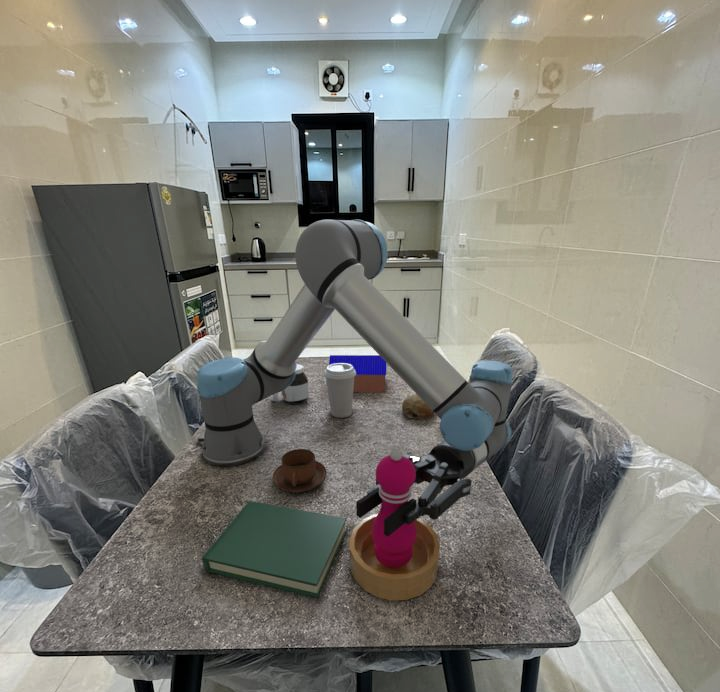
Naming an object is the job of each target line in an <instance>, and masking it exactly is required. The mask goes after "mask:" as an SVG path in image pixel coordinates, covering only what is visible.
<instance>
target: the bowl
mask: <svg viewBox="0 0 720 692" xmlns="http://www.w3.org/2000/svg"><path fill="white" fill-rule="evenodd" d="M377 515H378V513H375V514H371V515H369V516H367V517H366V518H364V519H362V520H361V521H359V522H358V523H357V525H356V526H355V527H354V528H353V529H352V532H351V534H350V536H349V563H350V564H349V565H350V566H349V567H350V568H349V569H350V572H351V574H352V576H353V579H354V581H355V582H356V583H357V584H358V585H359V586H360V587H361V588H362V589H363V591H365V592H367V593H369V594H370V595H372V596H374V597H376V598H380V599H384V600H388V601H392V602H393V601H408V600H410V599H413V598H416V597H419V596H422V595H423V594H424V593H425V592H427V591H428V590H429V589H430V588H432V586H433V585H434V582H435V581H436V580H437V577H438V572H439V571H438V570H439V562H440V550H441V544H440V540H439V537H438V534H437V532H436V531H435V530H434V529H433V528H432V526H430V524H429V523H427V522H426V521H424V520H423V519H421V517H419V518H418V519H416V520H415V521H414V523H415V527H416V540H415V543H414V544H413V546H412V557H411V559H410V561H409V562H408V563H407V564H406V565H403V566H401V567H388V566H385V565H383V564H382V563H380V562H379V561H378V560H377V558H376V556H375V552H374V548H375V543H374V541H373V539H372V525H373V523H374V520H375V518H376V516H377Z"/></svg>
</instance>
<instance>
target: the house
mask: <svg viewBox="0 0 720 692" xmlns="http://www.w3.org/2000/svg"><path fill="white" fill-rule="evenodd" d="M335 363H347V364H351V365H352V366H353V368H354V369H355V371H356V375H355V376H354V390H353V393H386V376H387V363H386V362H385V360H384V359H383V358H382V357H381V356H380V355H379V354H377V355H375V354H374V355H369V354H367V355H366V354H365V355H363V354H362V355H360V354H359V355H358V354H355V355H353V354H349V355H348V354H330V355H329V362H328V365H331V364H335Z"/></svg>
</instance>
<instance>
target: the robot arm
mask: <svg viewBox="0 0 720 692" xmlns="http://www.w3.org/2000/svg"><path fill="white" fill-rule="evenodd" d="M294 253H295V254H294V255H295V256H294V259H295V264H296V269H297V271H298V273H299V276H300V278H301V280H302V281H303V283H304V284H303V285H302V287H301V289H300V290H299V292H298V294H297V295H296V296H295V298H294V299H293V301H292V302H291V304H290V306H289V307H288V308H287V310H286V311H285V313H284V315H283V316H282V318H281V319H280V321H278V324H277V325H276V326H275V328H274V330H273V331H272V333H271V334H270V335H269V337H268V339H264V340H261V341H260V342H259V343H257V344H256V346H255V347H254V349H253V350H252V352H251V354H250V355H249V356H248V357H246V358H243V359H242V358H240V357H235V356H234V357H233V356H231V357H223V358H222V359H220V358H218V359H215V360H212V361H209V362H208V363H206V364H204V365H203V366H201V367H200V368H199V369H198V371H197V373H196V379H195V380H196V392H197V394H198V396H199V402H200V406H201V411H202V416H203V421H204V422H203V423H204V426H205V427H204V428H205V431H204V437H202V438H199V437H198V438H197V442H202V448H201V449H202V450H201V451H202V456H203V459H204V461H205V462H207V463H208V464H210V465H213V466H219V467H233V466H238V465H242V464H245V463H248V462H250V461H252V460H254V459H257V458H258V457H259V456H260V455H261V454H262V453H263V452H264V450H265V447H266V445H265V440H266V436H265V435H263V434H262V433H261V431H260V429H259V427H258V425H257V423H256V421H255V418H254V411H253V406H254V405H255V404H257V403H259V402H262V401H263V400H266V399H268V398H269V397H272V396H273V394H275V393H278V394H279V393H280V392H281V391H282V390H285V389H286V388H287V387H288V386H289V385H291V383H292V382H293V381H294V379H295V376H296V371H295V370H296V367H297V364H298V363H297V359H298V358H299V357H300V355H301V354H302V353H303V352H304V350H305V349H306V348H307V346H308V345H309V344H311V341H312V340H313V339H314V337H315V336H316V335H317V334H318V332H319V331H320V330H321V328H322V327H323V325H324V324H325V323H326V322H327V321H328V319H329V318H330V316H332V315H333V313H334V311H336V312H337V313H338V314H339V315H340V316H341V317H342V318H343V319H344V320H345V321H346V322H347V323H348V325H350V327H352V328H353V330H355V332H357V334H358V335H359V336H360V337H361V338H362V339H363V341H365V342H366V344H368V345H369V346H370V348H372V350H374V351H375V352H376V353H377V355H380V356H381V357H382V358H383V359H384V360H385V362H386V365H388V367H390V369H392V370H393V371H394V372H395V373H396V374H397V375H398V377H400V378H401V380H403V382H405V383H406V385H407V386H408V387H409V388H410V389H411V390H412V391H413V392H414V393H415V394H417V395H418V396H419V397H420V398H421V399H422V400H423V401H424V402H425V403H426V404H427V405H428V406H429V407H430V408H431V409H432V410H433V412H434V414H435V415H436V416H437V418H438V419H440V422H439V431H440V434H441V436H442V439H443V440H442V441H441V442H440V443H438V444H436V445H435V446H434V447H433V448H432V449H431V450H430V452H429V453H428V454H424V455H421V456H420V457H418V456H413V452H412V451H405V453H404V454H403V456H404V457H406V458H408V459H409V460H410V461H411V462H412V463H413V465H414V467H415V471H416V479H415V481H414V483H413V484H417V485H419V484H422V483H424V482H426V483H428V484H427V486H426V488H425V489H424V490H423V492H422V493H421V495H418V497H417V499H415V498H410V499H409V500H408V502H407V503H405V504H404V505H403V506H401V507H400V508H399V509H397V510H396V511H395V512H393V513H392V514H391V515H389V516H388V517H387V518H385V519H384V535H386V536H387V537H388V536H390V535H391V534H392V533H393V532H395V531H396V530H397V529H398V528H399V527H401V526H402V525H403V524H404V523H406V524H408V525H409V524H411V523H413V522H414V521H415V520H416V519H418V518H421V517H425V516H428V517H429V519H431V520H432V521H433V520H437V519H439V517H440V516H442V515H443V514H444V513H445V512H446V511H448V509H450V508H451V507H452V506H454V504H456V503H457V502H458V501H459V500H460V499H461V498H465V497H467V496H469V495H470V494H471V490H472V479H470V478H467V477H468V476H469V475H470V474H471V473H473V472H474V471H475V470H476V469H477V468H479V467H480V466H482V464H483V463H485V462H486V461H487V460H488V459H490V458H491V457H493V455H495V454H496V453H498V452H500V451H501V450H502V449H503V448H504V447H505V446H506V445H507V443H508V442H509V441H510V439H511V437H512V428H511V425H510V422H509V421H508V419H507V414H508V408H509V404H510V398H511V392H512V386H513V385H514V382H513V379H514V369H513V368H512V366H511V365H509V364H508V363H505V362H502V361H499V360H480V361H476V362H475V363H474V364H473V365H472V366H471V371H470V375H469V382H468V380H466V378H465V377H464V376H462V375H461V373H459V371H458V370H457V369H456V368H455V367H454V366H453V365H452V364H451V363H450V362H449V361H448V360H447V358H445V357H444V356H443V355H442V354H441V353H440V352H439V350H438V349H436V348H435V347H434V346H433V344H431V342H430V341H428V340H427V338H426V337H425V336H423V334H422V333H421V332H420V331H419V330H418V329H417V328H416V327H415V326H414V325H413V324H412V323H411V322H410V321H409V320H408V319H407V318H406V317H405V316H404V315H403V314H402V313H401V311H399V310H398V309H397V308H396V307H395V306H394V304H392V303H391V302H390V301H389V300H388V299H387V297H386V296H384V294H383V293H382V291H381V292H380V290H379V289H378V288H377V287H376V286H375V285H374V284H373V283H372V282H371V281H370V280H373V279H375V278H376V277H378V276H379V275H380V274H381V273H382V272H383V270H384V269H385V267H386V264H387V262H388V256H389V254H388V253H389V252H388V244H387V241H386V238H385V235H384V234H383V233H382V231H381V229H379V228H378V227H377V226H376V225H375V224H374V223H371V222H369V221H364V220H362V219H357V218H356V219H351V220H350V219H349V220H347V219H346V220H345V219H327V218H326V219H321V220H320V219H319V220H316V221H314V222H312V223H311V224H309V225H308V226H307V227H306V228H305V229H304V230H303V231H302V232H301V234H300V235H299V237H298V240H297V241H296V246H295V252H294ZM281 393H282V392H281ZM448 486H450V487H448ZM445 487H448V488H447V489H446V490H444V491H443V492H442V490H443V489H444V488H445ZM381 504H382V498H381V497H380V495H379V483H378V482H377V479H376V478H375V485H374V486H373V487H371V488H369V489H368V490H367V493H366V495H364V496H363V497H361V498H360V499H358V500H356V503H355V505H356V507H355V508H356V511H355V512H356V517H358V518H359V519H362V517H364V516H366V515H367V514H369V513H370V512H371V511H372V510H374V509H375V508H377V507H378V506H380V505H381Z"/></svg>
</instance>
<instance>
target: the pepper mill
mask: <svg viewBox="0 0 720 692" xmlns="http://www.w3.org/2000/svg"><path fill="white" fill-rule="evenodd" d="M389 453H390V454H389V455H386V456H385V457H383V458H382V459H380V461H379V462H378V464H377V466H376V469H375V480H376V479H377V482H378V483H379V495H380V497H381V498H382V503H381V504H380V505H381V506H380V510H379V512H378V513H377V514H378V515H377V516H376V518H375V520H374V523H373V525H372V539H373V541H374V543H375V548H374V552H375V556H376V558H377V560H378V561H379V562H380V563H382V564H383V565H385V566H388V567H401V566H403V565H406V564H407V563H408V562H409V561H410V559H411V557H412V546H413V544H414V543H415V540H416V527H415V523H414V522H413V523H411V524H409V525H408V524H406V523H404V524H403V525H402V526H401V527H399V528H398V529H397V530H396V531H395V532H393V533H392V534H391V535H390V536H388V537H387V536H386V535H384V519H385V518H387V517H388V516H389V515H391V514H392V513H393V512H395V511H396V510H397V509H399V508H400V507H401V506H403V505H404V504H405V503H407V502H408V501H409V500H411V497H412V493H413V492H412V491H413V485H414V484H415V483H414V481H415V479H416V471H415V467H414V465H413V463H412V462H411V461H410V460H409V459H408V458H406V457H404V455H403V452H402V450H400V449H399V448H394V449H392V450H391V451H390V452H389Z"/></svg>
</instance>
